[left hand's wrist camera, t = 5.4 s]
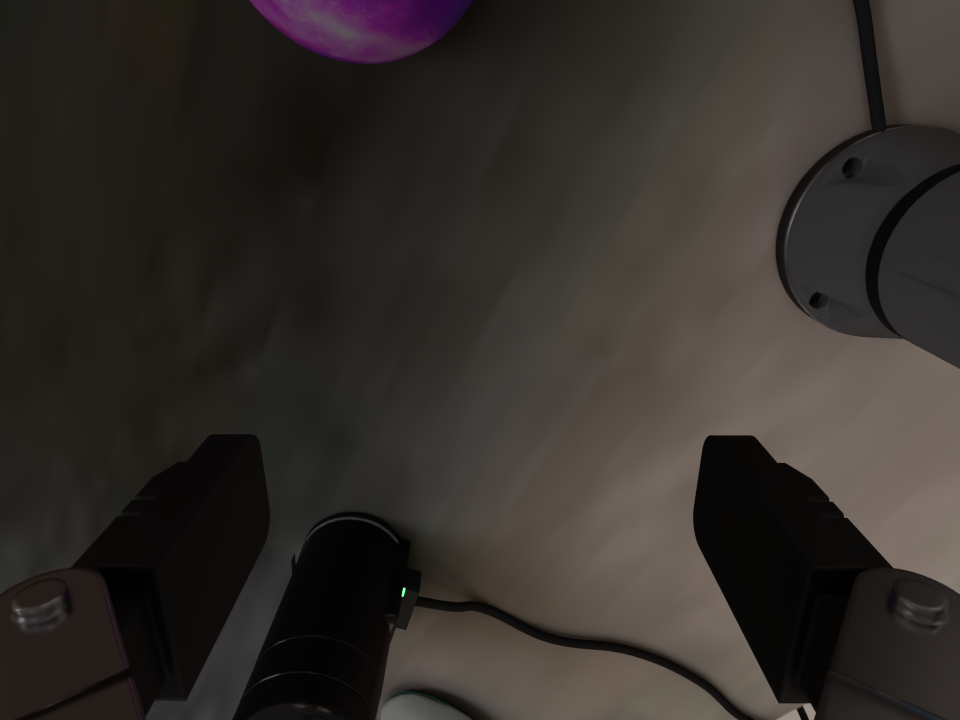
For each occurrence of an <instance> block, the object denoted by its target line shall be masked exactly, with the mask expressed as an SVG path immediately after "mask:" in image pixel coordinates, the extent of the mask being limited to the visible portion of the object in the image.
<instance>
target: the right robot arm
mask: <svg viewBox="0 0 960 720" xmlns="http://www.w3.org/2000/svg"><path fill="white" fill-rule="evenodd" d="M853 2H854V7H855V13H856V18H857V25H858V32H859V39H860V47H861V55H862V63H863V70H864V77H865V83H866V90H867V97H868V104H869V111H870V118H871V125H872V130H870V131H866V132H864V133H861V134H859V135H856V136H854V137H852V138H850V139H848V140H847V141H845V142H843V143H842V144H840V145H838V146H837V147H835V148H834V149H832V150H831V151H830V152H828V153H827V154H826V155H825V156H823V157H822V158H821V159H820V160H819V161H818V162H817V163H816V164H815V165H814V166H813V167H812V168H811V169H810V170H809V171H808V172H807V174H806V175H805V176H804V177H803V178H802V180H801V181H800V183H799V184H798V185H797V187H796V188H795V190H794V192H793V193H792V195H791V197H790V199H789V201H788V203H787V205H786V207H785V209H784V212H783V215H782V218H781V221H780V225H779V228H778V234H777V241H776V260H777V268H778V272H779V276H780V279H781V281H782V284H783V286H784V288H785V290H786V292H787V294H788V295H789V297H790V298H791V300H792V301H793V302H794V303H795V304H796V306H797V307H798V308H799V309H801V310H802V311H803V312H804V313H805V314H807V315H808V316H809V317H811V318H813V319H814V320H816V321H817V322H819V323H821V324H823V325H824V326H826V327H828V328H830V329H832V330H835V331H837V332H841V333H844V334H849V335H854V336H860V337H874V338H895V339H905V340H907V341H909V342H911V343H912V344H914V345H916V346H918V347H920V348H922V349H924V350H926V351H927V352H929V353H931V354H933V355H935V356H937V357H939V358H941V359H942V360H944V361H946V362H948V363H950V364H952V365H954V366H956V367H957V368H959V369H960V134H959V133H957V132H954V131H951V130H949V129H946V128H941V127H937V126H929V125H892V126H886V121H885V114H884V107H883V99H882V92H881V85H880V77H879V70H878V63H877V55H876V47H875V39H874V31H873V23H872V16H871V10H870V4H869V0H853Z"/></svg>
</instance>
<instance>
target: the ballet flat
mask: <svg viewBox="0 0 960 720" xmlns="http://www.w3.org/2000/svg"><path fill="white" fill-rule="evenodd" d="M380 718H381V720H472V719H471V718H469V717H468V716H466V715H465V714H463V713H461V712H460V711H459V710H457V709H455V708H454V707H452V706H450V705H449V704H447V703H445V702H443V701H441V700H439V699H437V698H435V697H433V696H430V695H427V694H424V693H421V692H415V691H404V692H400V693H397V694H396V695H394V696H393V697H391V699H389V700H388V701H387V702H386V703H385V704H384V706H383V708H382V710H381V717H380Z"/></svg>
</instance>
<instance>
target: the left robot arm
mask: <svg viewBox="0 0 960 720" xmlns="http://www.w3.org/2000/svg"><path fill="white" fill-rule="evenodd" d="M693 524H694V532H695V536H696V540H697V543H698V546H699V548H700V550H701V552H702V554H703V556H704V557H705V559H706V561H707V563H708V565H709V567H710V569H711V571H712V573H713V575H714V577H715V579H716V581H717V583H718V585H719V587H720V589H721V591H722V593H723V595H724V597H725V599H726V601H727V603H728V605H729V607H730V609H731V611H732V612H733V614H734V616H735V618H736V620H737V622H738V624H739V626H740V628H741V630H742V632H743V634H744V636H745V638H746V640H747V642H748V644H749V646H750V648H751V650H752V652H753V654H754V656H755V658H756V660H757V662H758V664H759V665H760V667H761V669H762V671H763V673H764V675H765V677H766V679H767V681H768V683H769V685H770V687H771V689H772V691H773V693H774V695H775V697H776V699H777V701H778V703H811V705H812V706H813V708H814V710H815V712H816V715H815V718H814V720H960V594H958V593H957V592H955V591H954V590H952V589H951V588H949V587H947V586H945V585H944V584H942V583H940V582H938V581H936V580H933V579H931V578H929V577H926V576H923V575H921V574H917V573H914V572H911V571H906V570H902V569H895V568H893V567H892V566H891V565H890V564H889V563H888V562H887V561H886V560H885V558H884V557H883V556H882V555H881V554H880V553H879V552H878V551H877V550H876V549H875V548H874V546H873V545H872V544H871V543H870V542H869V541H868V540H867V539H866V538H865V537H864V536H863V534H862V533H861V532H860V531H859V530H858V529H857V528H856V527H855V526H854V525H853V524H852V522H851V521H850V520H849V519H848V518H844V514H843V513H842V512H841V510H840V509H839V508H838V507H837V506H836V505H835V504H834V503H833V502H830V501H829V497H828V496H827V495H826V494H825V493H824V492H823V491H822V490H821V489H820V487H819V486H818V485H817V484H816V483H815V482H814V481H813V480H812V479H811V478H809V477H808V476H806V475H804V474H803V473H801V472H799V471H798V470H796V469H794V468H793V467H791V466H789V465H788V464H786V463H777V462H776V461H775V460H774V458H773V457H772V456H771V455H770V454H769V453H768V451H767V450H766V449H765V448H764V447H763V446H762V445H761V443H760V442H759V441H758V440H757V439H756V438H755V437H754V436H751V435H710V436H708V437H707V438H706V440H705V442H704V445H703V449H702V455H701V462H700V469H699V476H698V482H697V489H696V496H695V503H694V510H693ZM269 525H270V507H269V500H268V493H267V486H266V479H265V473H264V466H263V459H262V452H261V446H260V442H259V440H258V438H257V436H255V435H253V434H213V435H210V436H209V437H207V439H206V440H205V441H204V442H203V443H202V444H201V446H200V447H199V448H198V449H197V450H196V451H195V453H194V454H193V455H192V456H191V457H190V459H189V460H188V461H187V462H178V463H176V464H174V465H173V466H171V467H169V468H168V469H166V470H164V471H163V472H161V473H159V474H158V475H156V476H155V477H153V478H152V479H151V480H150V481H149V482H148V483H147V484H146V485H145V486H144V488H143V489H142V490H141V491H140V492H139V493H138V494H137V495H136V496H135V500H132V501H131V502H130V503H129V504H128V505H127V506H126V507H125V508H124V510H123V511H122V512H121V516H120V517H116V518H115V520H114V521H113V522H112V523H111V524H110V525H109V526H108V527H107V528H106V529H105V531H104V532H103V533H102V534H101V535H100V536H99V537H98V538H97V539H96V540H95V542H94V543H93V544H92V545H91V546H90V547H89V548H88V549H87V550H86V551H85V553H84V554H83V555H82V556H81V557H80V558H79V559H78V560H77V561H76V562H75V564H74V565H73V566H72V567H71V568H65V569H58V570H54V571H49V572H46V573H43V574H39V575H37V576H34V577H31V578H29V579H27V580H24V581H22V582H20V583H18V584H16V585H15V586H13V587H11V588H9V589H8V590H6V591H5V592H3V593H2V594H0V720H146V718H145V717H146V715H147V713H148V712H149V710H150V708H151V706H152V704H153V703H154V701H186V700H187V698H188V696H189V694H190V692H191V690H192V688H193V686H194V684H195V682H196V680H197V678H198V676H199V674H200V672H201V670H202V668H203V666H204V664H205V662H206V660H207V658H208V656H209V654H210V652H211V650H212V648H213V646H214V644H215V642H216V640H217V638H218V636H219V634H220V632H221V630H222V629H223V627H224V625H225V623H226V621H227V619H228V617H229V615H230V613H231V611H232V609H233V607H234V605H235V603H236V601H237V599H238V597H239V595H240V593H241V591H242V589H243V587H244V585H245V583H246V581H247V579H248V577H249V575H250V573H251V571H252V569H253V567H254V565H255V563H256V561H257V559H258V557H259V555H260V553H261V551H262V549H263V547H264V545H265V543H266V540H267V536H268V532H269ZM410 545H411V542H410V541H408V540H405V539H402V538H399V536H398V535H397V534H396V532H395V531H394V530H393V529H392V528H391V527H390V526H388V525H387V524H386V523H384V522H383V521H381V520H379V519H377V518H375V517H372V516H369V515H365V514H360V513H341V514H336V515H333V516H330V517H327V518H325V519H323V520H322V521H320V522H319V523H317V524H316V525H315V526H314V527H313V528H312V529H311V530H310V532H309V533H308V535H307V537H306V539H305V541H304V544H303V547H302V550H301V553H300V555H299V559H298V561H297V564H296V565H295V553H294V556H293V558H292V560H291V562H292V576H291V578H290V581H289V583H288V586H287V588H286V590H285V593H284V595H283V598H282V600H281V603H280V605H279V608H278V610H277V612H276V615H275V617H274V620H273V622H272V625H271V627H270V629H269V632H268V634H267V637H266V639H265V642H264V644H263V647H262V649H261V651H260V654H259V656H258V659H257V661H256V664H255V666H254V668H253V671H252V673H251V676H250V678H249V681H248V683H247V685H246V688H245V690H244V693H243V695H242V698H241V700H240V703H239V705H238V708H237V710H236V712H235V715H234V717H233V719H232V720H377V717H378V711H379V705H380V699H381V693H382V687H383V682H384V676H385V670H386V664H387V658H388V652H389V646H390V643H391V640H392V637H393V634H394V631H395V628H400V629H404V630H406V629H407V626H408V623H409V620H410V617H411V614H412V612H413V609H414V606H420V607H426V608H431V609H437V610H443V611H452V612H463V611H477V612H481V613H484V614H487V615H490V616H492V617H495V618H497V619H499V620H501V621H503V622H505V623H507V624H508V625H510V626H512V627H514V628H516V629H518V630H520V631H521V632H523V633H525V634H528V635H530V636H532V637H534V638H537V639H539V640H542V641H545V642H548V643H552V644H556V645H560V646H566V647H572V648H581V649H593V650H604V651H612V652H618V653H623V654H627V655H631V656H635V657H638V658H641V659H644V660H647V661H650V662H653V663H655V664H658V665H660V666H663V667H665V668H667V669H669V670H672V671H674V672H676V673H678V674H679V675H681V676H683V677H685V678H687V679H688V680H690V681H692V682H694V683H695V684H697V685H698V686H700V687H701V688H703V689H704V690H706V691H707V692H708V693H709V694H710V695H712V696H713V697H714V698H715V699H716V700H717V701H718V702H719V703H720V704H721V705H722V706H723V707H724V708H725V709H726V710H727V711H728V712H729V713H730V714H731V715H732V716H734V717H735V718H736V719H738V720H754V719H752V718H750V717H748V716H746V715H745V714H743V713H742V712H740V711H739V710H738V709H736V708H735V707H734V706H733V705H732V704H731V703H730V702H729V701H728V700H727V699H726V698H725V697H724V696H723V695H722V694H721V693H720V692H719V691H718V690H717V689H716V688H715V687H713V686H712V685H711V684H710V683H708V682H707V681H705V680H704V679H702V678H701V677H699V676H697V675H696V674H694V673H692V672H691V671H689V670H687V669H685V668H684V667H682V666H680V665H678V664H676V663H674V662H672V661H670V660H668V659H665V658H663V657H661V656H658V655H656V654H653V653H650V652H647V651H644V650H641V649H638V648H635V647H631V646H628V645H623V644H619V643H612V642H605V641H594V640H582V639H573V638H566V637H561V636H557V635H553V634H549V633H546V632H543V631H540V630H538V629H536V628H533V627H531V626H529V625H527V624H525V623H523V622H521V621H519V620H517V619H516V618H514V617H512V616H510V615H508V614H506V613H504V612H502V611H500V610H498V609H496V608H494V607H491V606H488V605H486V604H482V603H479V602H473V601H467V602H449V601H442V600H436V599H430V598H425V597H419V596H418V595H419V589H420V582H421V574H422V572H421V571H417V570H413V569H409V568H407V563H408V557H409V551H410ZM796 710H797V712H798V714H799V716H800V719H801V720H809V718H808V716H807V713H806V711H805V709H804V707H803V706H801V707H799V708H797V709H796Z"/></svg>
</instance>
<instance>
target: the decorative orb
mask: <svg viewBox="0 0 960 720" xmlns="http://www.w3.org/2000/svg"><path fill="white" fill-rule="evenodd" d="M249 1H250V2H251V3H252V4H253V6H254V7H255V8H256V9H257V10H258V11H259V12H260V13H261V14H262V15H263V17H265V18H266V19H267V20H268V21H269V22H270V23H271V24H272V25H273V26H274V27H275V28H277V29H278V30H279V31H280V32H282V33H283V34H284V35H286V36H287V37H289V38H290V39H291V40H293V41H294V42H296V43H298V44H300V45H301V46H303V47H305V48H307V49H309V50H311V51H313V52H315V53H318V54H320V55H323V56H325V57H328V58H332V59H335V60H339V61H344V62H350V63H359V64H376V63H385V62H390V61H395V60H399V59H402V58H405V57H408V56H410V55H413V54H415V53H417V52H420V51H421V50H423V49H425V48H427V47H429V46H430V45H432V44H433V43H434V42H436V41H437V40H439V39H440V38H441V37H442V36H444V35H445V34H446V33H447V32H448V31H449V30H450V29H451V28H452V27H453V26H454V25H455V24H456V23H457V22H458V21H459V20H460V18H461V17H462V16H463V15H464V13H465V12H466V11H467V9H468V8H469V6H470V5H471V3H472V2H473V0H249Z"/></svg>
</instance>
